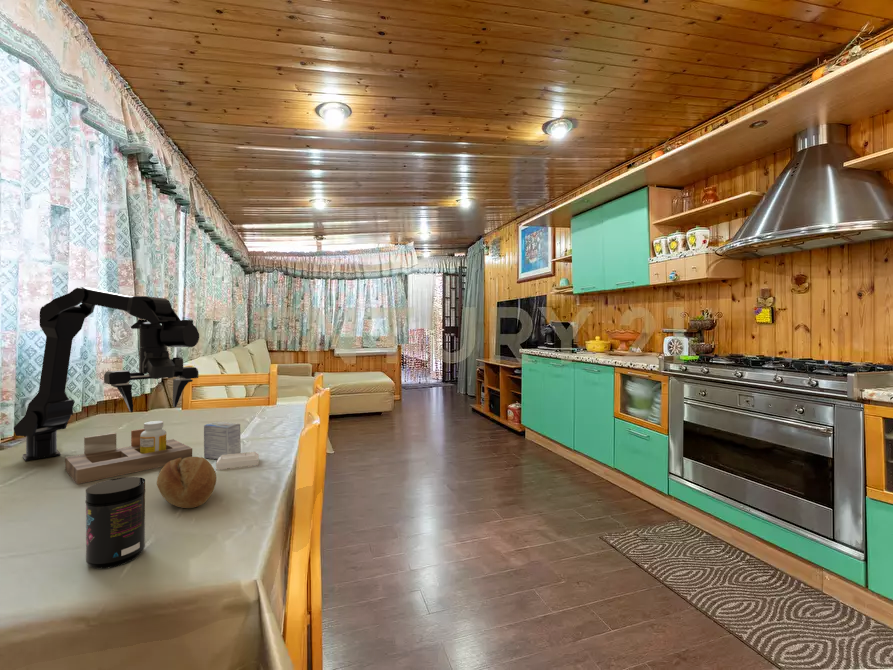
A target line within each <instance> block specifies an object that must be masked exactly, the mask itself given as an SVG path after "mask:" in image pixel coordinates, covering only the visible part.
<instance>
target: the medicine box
mask: <svg viewBox="0 0 893 670" xmlns="http://www.w3.org/2000/svg"><path fill="white" fill-rule="evenodd" d="M241 442H242V441H241V423H239V422H237V423H236V422H230V421H229V422H226V421H214V422H210V423H207V424H204V425H203V454H204V455H203V458H204V459H212V460H218V458H219V457H220V456H221V455H227V454H237V453H242V447H241V446H242V445H241Z"/></svg>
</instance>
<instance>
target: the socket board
mask: <svg viewBox="0 0 893 670" xmlns="http://www.w3.org/2000/svg"><path fill="white" fill-rule="evenodd" d="M143 431H145V429H144V428H140V429H134V430H133V429H132V430H130V436H131V437H130V444H131V445H130V446H123V447H118V448H117V432H112V433H106V434H98V435H91V436H90V435H89V436H84V437H83V438H84V440H83V442H84V443H83V446H84V447H83V453H82V454H76V455H70V456H65V458H64V459H65V461H64V462H65V465H64V468H65V469H64V471H66V473H67V474H68V475H69V476H70V477H71V479H72V481H74V482H75V484H77V485H80V484H85V483H90V482H94V481H95V482H96V481H98V480H104V479H109V478H113V477H119V476H123V475H128V474H133V473H137V472H141V471H142V472H143V471H149V470H151V469H152V470H153V469H158V468H163V467H164V465H165V464H166V463H168V462H169V461H171V460H175V459H178V458H182V459H183V458H186V457H193V447H191V446H188V445H186V444H184V443H182V442H180V441H178V440H176V439H174V438H171V439H166V450H161V451H155V452H150V453H145V454H141V453H140V435H141V433H142V432H143Z"/></svg>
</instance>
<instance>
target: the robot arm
mask: <svg viewBox="0 0 893 670" xmlns="http://www.w3.org/2000/svg"><path fill="white" fill-rule="evenodd" d="M96 306H99V307H103V308H110V309H115V310H120V311H124V312H126V313H128V315H130V316H132V317H135V318H137V319H138V320H137V321H136V322H135V323H133V324H132V325H131V326H130V328H131V329H134V330H139V351H138V356H139V367H138V372H136V371H135V372H130V371H131V370H130V371H129V370H125V369H123V370H122V369H120V370H108V371H106V372H105V373H104V375H103V382H104V383H103V384H107V385H110V386H111V387H113V388H117V390H118V391H119V393H120V394H121V396H122V397H123V400H124V402H125V404H126V406H127V407H126V408H128V411H129V413H133V412H134V401H133V392H132V390H133V389H132V388H133V384H131V383H130V381H136V380H140V381H141V380H150V379H151V380H152V379H153V380H158V379H166V378H168V379H172V406H173V408H177V407H178V403H179V401H180V398H181V396H182V393H183V392H184V389H185V388H186V386H187V385H188V384H189V383H192V382H194V379H199V369H198V368H197V367H194V366H184V358H183V357H181V356H179V357H178V356H177V357H173V358H170V353H169V350H168V348H193V347H195V346H197V344H198V343H199V340H200V332H199V330H198V328H197V326H195V325H194V320H193V319H182V320H181V318H180V317H179V316H178V314H177V313H176V311H175V310H174V309H173V308H172V303H170V300H169V299H167V298H163V297H155V296H148V295H147V296H146V295H134V296H133V295H132V296H131V295H125V294H119V293H115V292H112V291H111V292H110V291H106V290H105V291H104V290H99V289H97V288H93V287H85V286H79V287H76V288H74V289H73V290H71V291H70V292H69V293H66V294H64V295H61V296H58V297H56V298H54V299H52V300H51V301H49V302H48V303H46V304H44V305H42V306H41V308H40V310H39V326H40V329H41V331H42V332H43V334H44V335H45V345H44V351H43V358H42V359H43V360H42V366H41V373H40V378H39V379H40V380H39V386H38V393H36V395H35V396H34V397H33V398H32V399H31V401H30V402H28V405H27V408H26V410H25V414H24V416H23V417H22V418H21V419H20V421H18V422H17V423H16V424H15V426H13V431H14V435H15V436H16V437H25V453H22V457H23V459H24V461H25V462H26V461H32V460H33V461H34V460H40V459H46V458H50V457H51V458H52V457H57V456H61V452H60V451H59V450H58V449H57V448H58V443H57V441H58V438H57V437H58V436H57V435H58V434H57V433H58V431H61V430H65V429H67V426H68V423H69V421H70V419H71V416H72V415H74V410H73V409H74V405H75V401H74V399H70V398H69V397H68V395H67V393H66V387H67V379H68V373H69V365H70V361H71V360H70V359H71V354H72V353H71V352H72V346H73V340H74V338H75V337H76V336H77V334H78V333H79V332H80V331H81V330H82V329H83V326H84V322H85V319H87V318H88V317H89V316H90V315H92V314H93V312H94V310H95V307H96Z"/></svg>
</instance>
